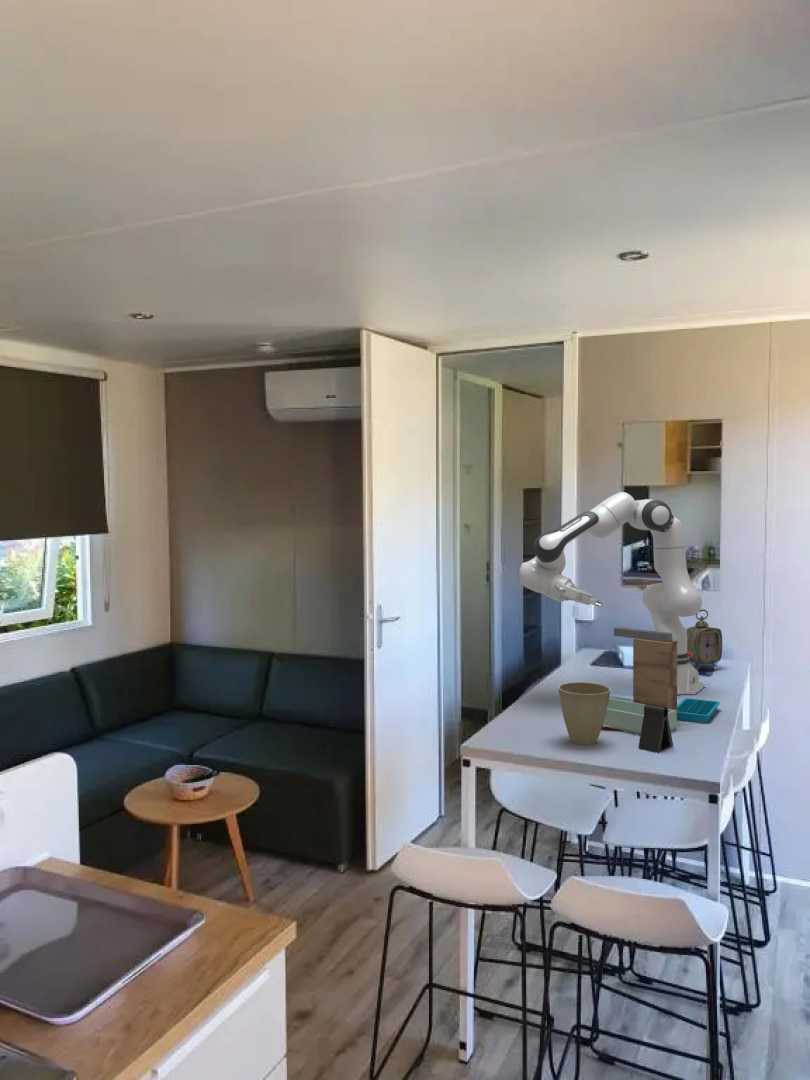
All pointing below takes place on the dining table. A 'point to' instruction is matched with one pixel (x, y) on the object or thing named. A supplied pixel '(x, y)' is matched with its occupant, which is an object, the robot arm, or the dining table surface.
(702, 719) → the ice cube tray
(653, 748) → the phone stand
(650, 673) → the walnut stand
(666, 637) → the gray rectangular bar
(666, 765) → the dining table surface
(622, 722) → the green tray
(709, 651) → the tabletop clock
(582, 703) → the plant pot
